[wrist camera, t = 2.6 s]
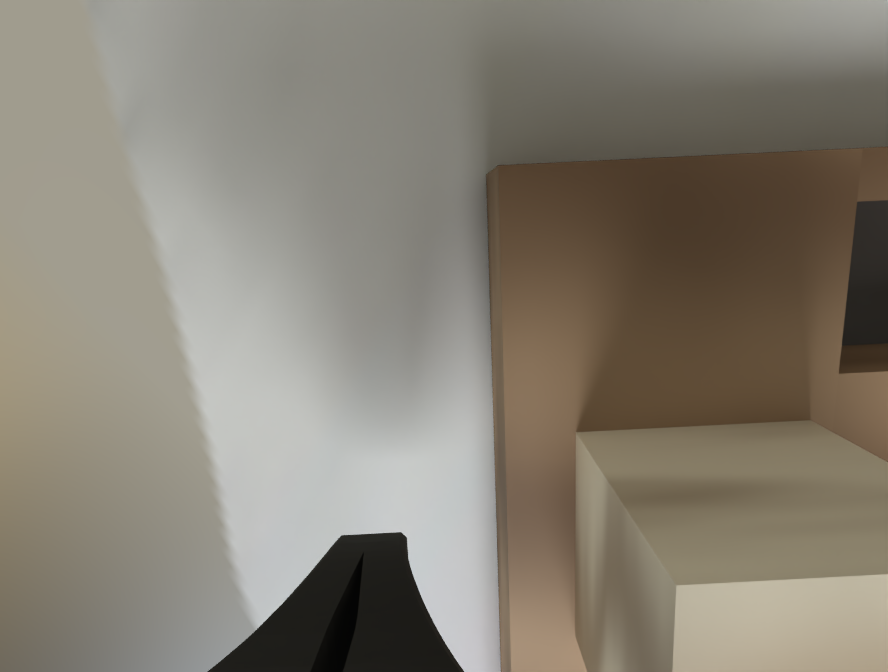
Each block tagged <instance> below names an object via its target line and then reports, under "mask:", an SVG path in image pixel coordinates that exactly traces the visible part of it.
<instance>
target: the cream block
mask: <svg viewBox="0 0 888 672" xmlns="http://www.w3.org/2000/svg"><path fill="white" fill-rule="evenodd" d="M575 637H576V640H577V643H578V646H579V649H580V652H581V655H582V658H583V660H584V663H585V666H586V669H587V672H888V462H886V461H884V460H883V459H881V458H879V457H877V456H875V455H873V454H872V453H870V452H868V451H866V450H864V449H862V448H861V447H859V446H857V445H855V444H853V443H851V442H850V441H848V440H846V439H844V438H842V437H840V436H838V435H837V434H835V433H833V432H831V431H829V430H827V429H826V428H824V427H822V426H820V425H818V424H816V423H815V422H813V421H811V420H806V421H786V422H767V423H747V424H728V425H709V426H689V427H670V428H650V429H631V430H611V431H592V432H576V544H575Z"/></svg>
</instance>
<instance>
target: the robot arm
mask: <svg viewBox="0 0 888 672" xmlns="http://www.w3.org/2000/svg"><path fill="white" fill-rule="evenodd" d="M208 672H464V671H463V669H462V668H461V667H460V665H459V664H458V662H457V661H456V659H455V658H454V656H453V655H452V653H451V652H450V650H449V649H448V647H447V645H446V644H445V642H444V641H443V639H442V637H441V635H440V634H439V632H438V630H437V628H436V626H435V625H434V623H433V621H432V619H431V617H430V615H429V613H428V611H427V609H426V607H425V604H424V602H423V600H422V598H421V595H420V593H419V590H418V588H417V585H416V582H415V580H414V577H413V574H412V571H411V568H410V564H409V560H408V549H407V537H406V536H405V535H403V534H402V533H401V532H399V533H380V534H361V535H342V536H341V537H340V538H339V539H338V540H337V541H336V542H335V543H334V545H333V546H332V547H331V548H330V549H329V551H328V552H327V553H326V554H325V555H324V557H323V558H322V559H321V560H320V562H319V563H318V564H317V565H316V566H315V568H314V569H313V570H312V571H311V572H310V573H309V575H308V576H307V577H306V578H305V579H304V580H303V581H302V583H301V584H300V585H299V586H298V587H297V588H296V589H295V590H294V592H293V593H292V594H291V595H290V596H289V597H288V598H287V599H286V600H285V602H284V603H283V604H282V605H281V606H280V607H279V608H278V609H277V610H276V611H275V612H274V613H273V614H272V615H271V616H270V617H269V618H268V619H267V620H266V621H265V622H264V623H263V624H262V625H261V626H260V627H259V628H258V629H257V630H256V631H255V632H254V633H253V634H252V635H251V636H249V637H248V639H246V640H245V641H244V642H243V643H242V644H241V645H239V646H238V647H237V648H236V649H235V650H233V651H232V652H231V653H230V654H229V655H227V656H226V657H225V658H224V659H223V660H221V661H220V662H219V663H218V664H217V665H216V666H214V667H213V668H212V669H210V670H209V671H208Z"/></svg>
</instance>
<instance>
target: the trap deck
mask: <svg viewBox="0 0 888 672" xmlns="http://www.w3.org/2000/svg"><path fill="white" fill-rule="evenodd" d="M486 185H487V219H488V252H489V285H490V319H491V352H492V386H493V419H494V452H495V486H496V519H497V552H498V586H499V619H500V652H501V672H587V669H586V666H585V663H584V660H583V658H582V655H581V652H580V649H579V646H578V643H577V640H576V637H575V544H576V432H592V431H611V430H631V429H650V428H670V427H689V426H709V425H728V424H747V423H767V422H786V421H806V420H811V421H813V422H815V423H816V424H818V425H820V426H822V427H824V428H826V429H827V430H829V431H831V432H833V433H835V434H837V435H838V436H840V437H842V438H844V439H846V440H848V441H850V442H851V443H853V444H855V445H857V446H859V447H861V448H862V449H864V450H866V451H868V452H870V453H872V454H873V455H875V456H877V457H879V458H881V459H883V460H884V461H886V462H888V147H873V148H852V149H831V150H810V151H789V152H768V153H747V154H726V155H705V156H684V157H663V158H642V159H621V160H600V161H579V162H558V163H537V164H516V165H498V166H497V167H495V168H494V169H493V170H492V171H490V172H489V173H488V174H486Z"/></svg>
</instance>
